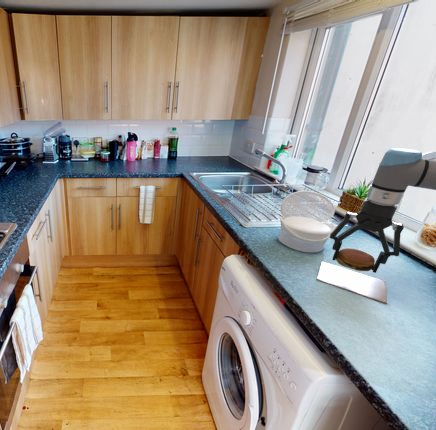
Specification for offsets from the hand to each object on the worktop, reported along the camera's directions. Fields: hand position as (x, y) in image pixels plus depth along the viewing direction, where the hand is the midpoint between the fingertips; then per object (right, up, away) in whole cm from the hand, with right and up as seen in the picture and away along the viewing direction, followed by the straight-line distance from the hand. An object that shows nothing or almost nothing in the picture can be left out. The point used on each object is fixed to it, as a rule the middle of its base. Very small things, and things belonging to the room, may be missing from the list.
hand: (353, 264), depth 94 cm
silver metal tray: (+1, -6, +2) cm, 6 cm away
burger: (0, 0, 0) cm, 0 cm away
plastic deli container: (-1, +5, +26) cm, 26 cm away
